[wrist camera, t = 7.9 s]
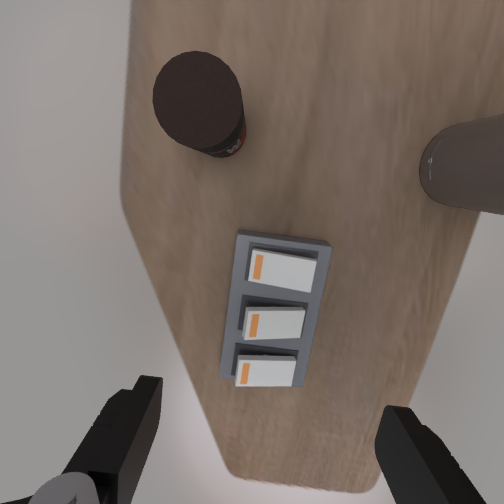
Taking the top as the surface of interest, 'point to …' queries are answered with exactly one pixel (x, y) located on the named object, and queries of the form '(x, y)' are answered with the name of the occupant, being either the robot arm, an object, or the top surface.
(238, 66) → the top surface
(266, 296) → the rocker switch panel
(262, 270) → the rocker
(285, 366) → the rocker
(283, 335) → the rocker
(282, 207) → the top surface
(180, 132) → the deodorant
